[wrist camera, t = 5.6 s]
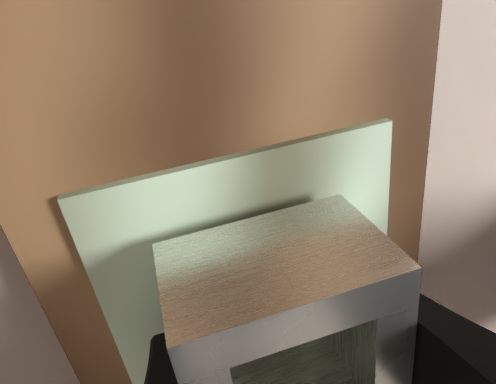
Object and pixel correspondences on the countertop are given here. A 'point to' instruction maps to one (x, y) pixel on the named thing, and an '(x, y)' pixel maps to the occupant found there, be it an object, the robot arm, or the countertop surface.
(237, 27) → the board
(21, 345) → the countertop surface
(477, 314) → the countertop surface
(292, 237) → the white square frame
